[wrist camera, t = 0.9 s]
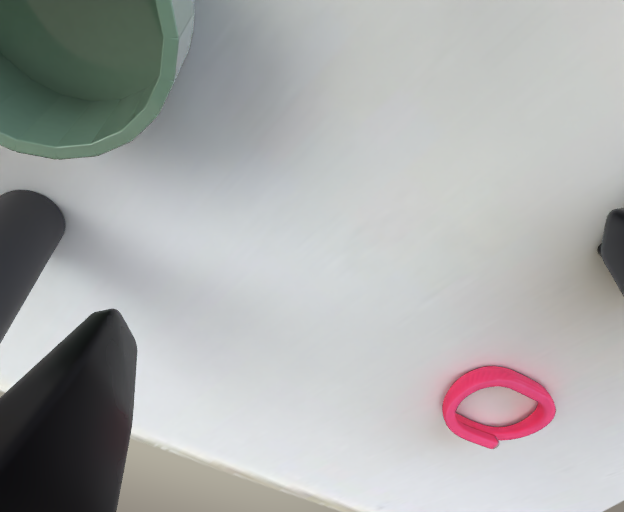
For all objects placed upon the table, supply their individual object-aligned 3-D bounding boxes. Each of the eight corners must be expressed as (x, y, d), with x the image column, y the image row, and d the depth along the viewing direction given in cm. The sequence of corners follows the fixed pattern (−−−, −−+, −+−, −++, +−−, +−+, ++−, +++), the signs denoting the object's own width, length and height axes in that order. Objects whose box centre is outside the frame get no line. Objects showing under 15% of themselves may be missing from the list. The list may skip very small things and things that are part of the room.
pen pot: (232, -42, 18) (225, -25, 13) (144, 141, 21) (118, 198, 17) (-11, -211, 15) (-114, -255, 10) (-65, 36, 18) (-159, 74, 14)
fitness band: (419, 407, 33) (426, 426, 32) (481, 352, 31) (490, 371, 29) (502, 439, 36) (511, 458, 35) (564, 392, 34) (576, 411, 33)
